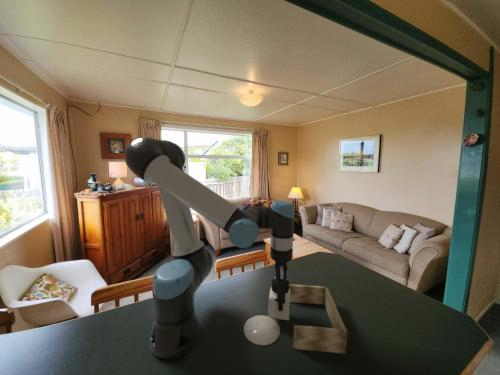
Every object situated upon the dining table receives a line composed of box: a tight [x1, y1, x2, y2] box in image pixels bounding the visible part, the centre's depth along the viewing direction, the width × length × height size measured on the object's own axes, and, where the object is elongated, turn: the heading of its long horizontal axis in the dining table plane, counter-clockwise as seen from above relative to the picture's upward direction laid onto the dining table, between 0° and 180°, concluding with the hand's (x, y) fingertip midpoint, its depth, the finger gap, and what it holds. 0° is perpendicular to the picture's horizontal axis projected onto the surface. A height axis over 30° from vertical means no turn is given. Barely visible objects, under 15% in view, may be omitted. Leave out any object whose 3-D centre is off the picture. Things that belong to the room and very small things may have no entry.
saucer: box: [243, 314, 281, 346], centre depth 69 cm, size 12×12×1 cm
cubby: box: [289, 283, 348, 355], centre depth 71 cm, size 15×22×7 cm
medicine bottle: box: [267, 276, 291, 321], centre depth 72 cm, size 7×7×12 cm
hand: (279, 308), depth 73 cm, fingers closed on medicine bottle, 7 cm apart
